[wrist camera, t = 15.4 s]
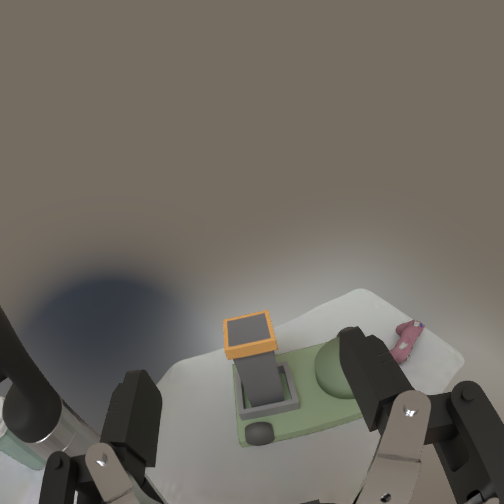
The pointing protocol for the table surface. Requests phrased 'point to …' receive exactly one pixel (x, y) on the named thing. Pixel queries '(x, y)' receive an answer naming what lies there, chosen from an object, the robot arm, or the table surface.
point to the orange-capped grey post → (254, 356)
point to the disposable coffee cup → (18, 446)
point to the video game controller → (406, 340)
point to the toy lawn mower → (299, 397)
